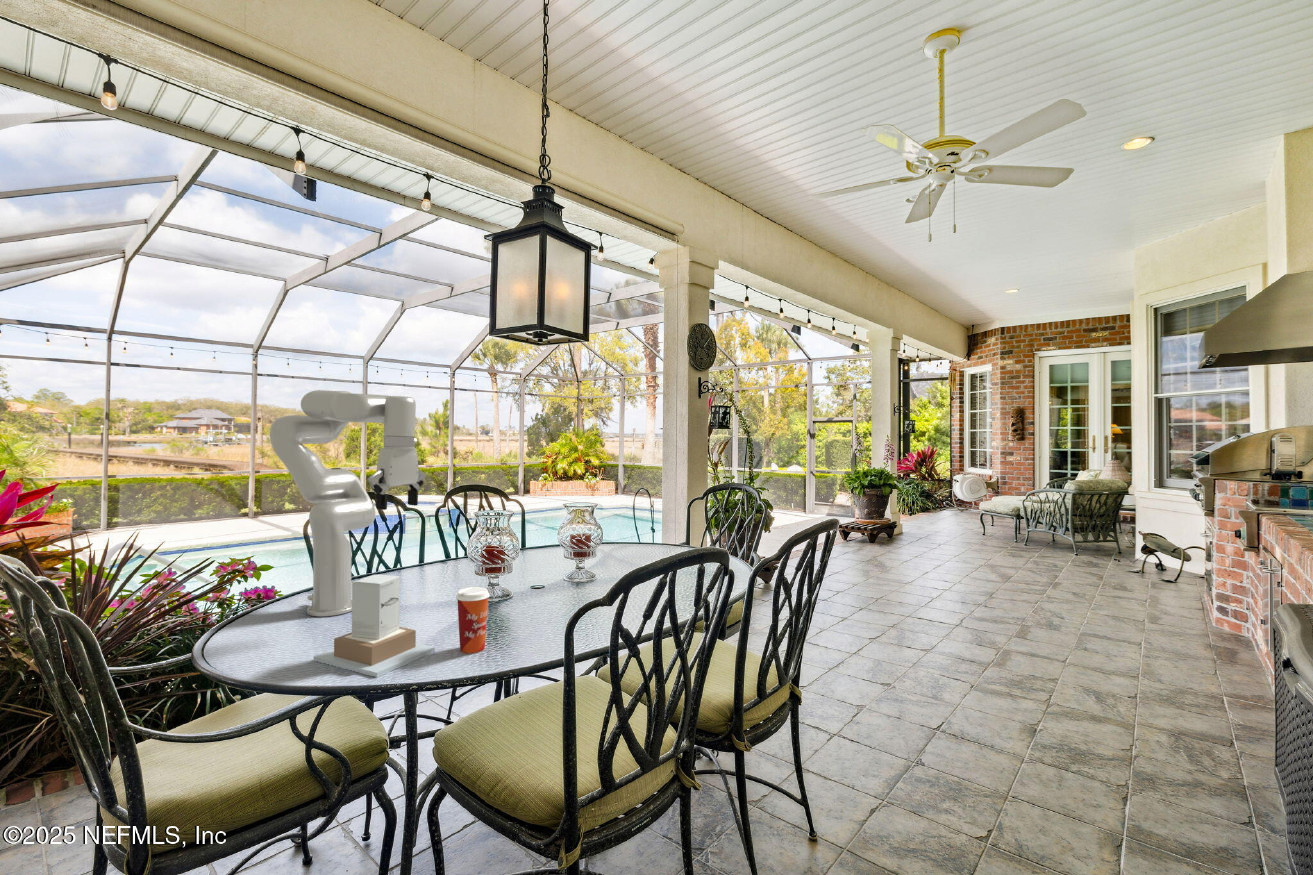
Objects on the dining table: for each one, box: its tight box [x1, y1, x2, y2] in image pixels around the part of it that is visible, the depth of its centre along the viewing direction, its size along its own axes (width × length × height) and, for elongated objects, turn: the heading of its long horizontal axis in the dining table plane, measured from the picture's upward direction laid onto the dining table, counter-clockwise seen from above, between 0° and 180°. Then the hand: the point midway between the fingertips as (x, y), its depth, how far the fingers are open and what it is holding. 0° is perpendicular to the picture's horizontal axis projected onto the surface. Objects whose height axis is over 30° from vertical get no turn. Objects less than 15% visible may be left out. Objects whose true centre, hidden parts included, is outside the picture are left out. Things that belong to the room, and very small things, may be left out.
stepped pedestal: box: [313, 626, 436, 678], centre depth 133 cm, size 20×16×5 cm
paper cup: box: [455, 586, 490, 655], centre depth 138 cm, size 8×8×14 cm
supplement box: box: [351, 574, 401, 639], centre depth 133 cm, size 7×7×13 cm
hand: (397, 507), depth 153 cm, fingers open, 9 cm apart
